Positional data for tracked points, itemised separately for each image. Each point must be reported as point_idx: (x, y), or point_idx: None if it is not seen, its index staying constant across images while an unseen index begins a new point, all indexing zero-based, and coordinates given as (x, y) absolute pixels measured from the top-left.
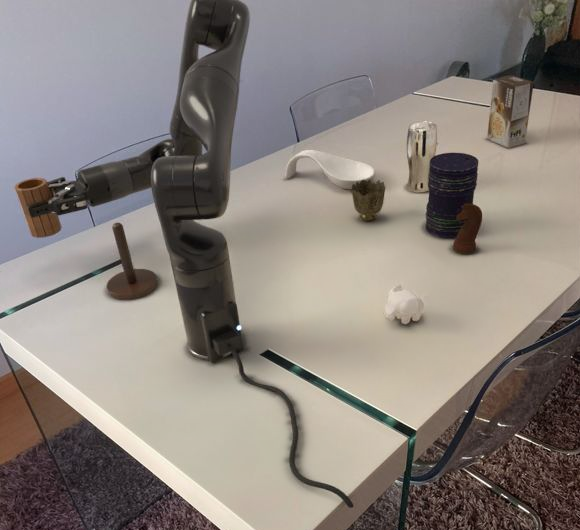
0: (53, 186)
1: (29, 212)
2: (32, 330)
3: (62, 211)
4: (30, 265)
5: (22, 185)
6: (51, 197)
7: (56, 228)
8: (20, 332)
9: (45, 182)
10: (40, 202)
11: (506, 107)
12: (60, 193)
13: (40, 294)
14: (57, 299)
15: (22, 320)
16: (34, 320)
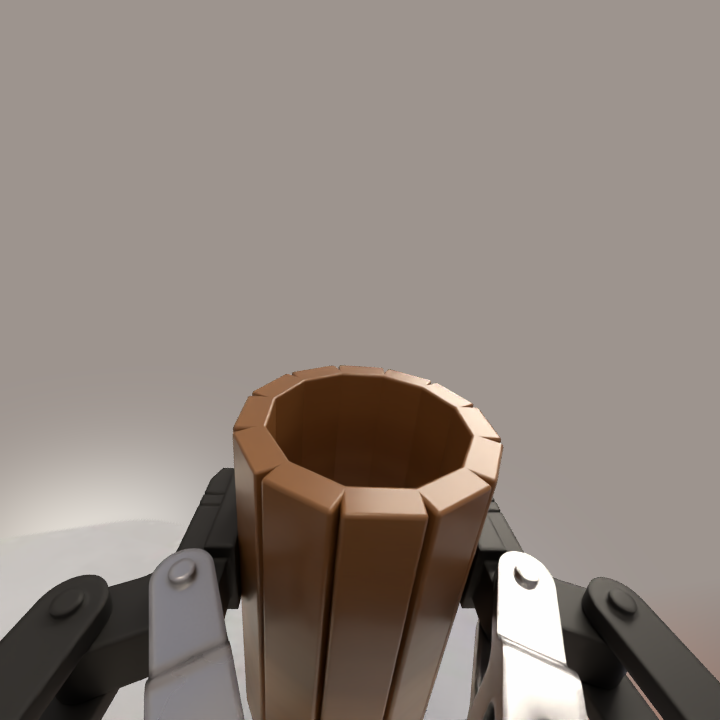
0: (498, 705)
1: None
2: (69, 564)
3: (59, 703)
4: (455, 669)
5: (430, 411)
6: (304, 630)
7: (254, 712)
8: (100, 540)
9: (299, 492)
10: None
11: None
12: (167, 712)
13: None
14: (130, 690)
15: (144, 556)
16: (106, 582)
